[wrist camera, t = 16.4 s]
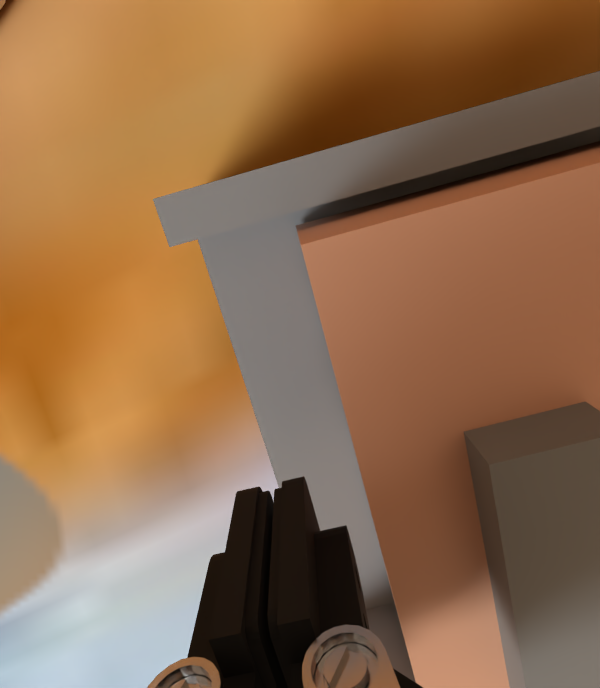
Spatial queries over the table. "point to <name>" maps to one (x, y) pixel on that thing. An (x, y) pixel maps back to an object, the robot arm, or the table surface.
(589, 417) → the slider
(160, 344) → the table surface
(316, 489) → the grey shallow rimmed piece
